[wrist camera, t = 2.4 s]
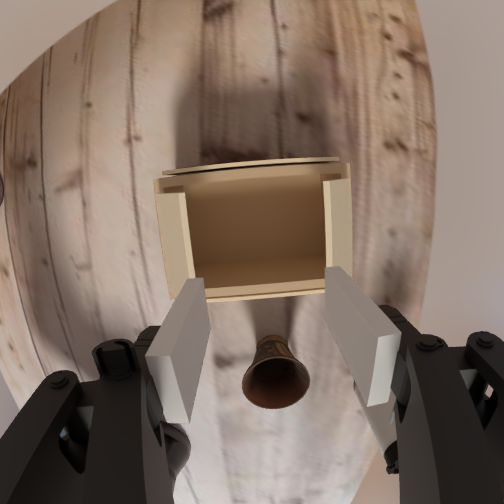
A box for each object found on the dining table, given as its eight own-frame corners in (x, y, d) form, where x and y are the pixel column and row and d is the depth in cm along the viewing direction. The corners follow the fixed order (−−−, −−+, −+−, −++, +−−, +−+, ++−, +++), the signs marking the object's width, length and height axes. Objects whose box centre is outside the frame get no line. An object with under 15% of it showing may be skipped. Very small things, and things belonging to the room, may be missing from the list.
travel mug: (349, 374, 47) (388, 461, 27) (384, 362, 46) (434, 441, 27) (352, 398, 48) (386, 481, 29) (385, 387, 48) (428, 464, 29)
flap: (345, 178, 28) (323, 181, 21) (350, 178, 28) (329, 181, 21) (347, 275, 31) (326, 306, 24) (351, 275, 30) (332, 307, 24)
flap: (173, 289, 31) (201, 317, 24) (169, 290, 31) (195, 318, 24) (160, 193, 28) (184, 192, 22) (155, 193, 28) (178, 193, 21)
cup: (246, 382, 46) (247, 418, 36) (237, 333, 45) (236, 362, 35) (299, 374, 46) (312, 407, 36) (294, 324, 45) (308, 351, 35)
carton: (187, 276, 42) (171, 305, 32) (175, 172, 38) (152, 172, 29) (329, 264, 42) (351, 290, 32) (325, 160, 38) (349, 156, 29)
